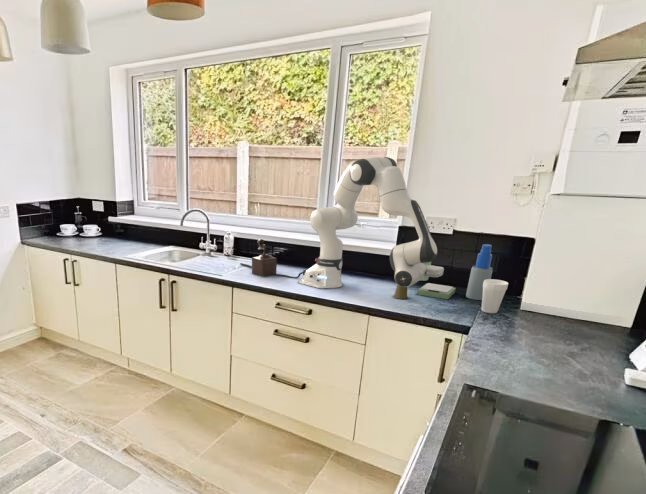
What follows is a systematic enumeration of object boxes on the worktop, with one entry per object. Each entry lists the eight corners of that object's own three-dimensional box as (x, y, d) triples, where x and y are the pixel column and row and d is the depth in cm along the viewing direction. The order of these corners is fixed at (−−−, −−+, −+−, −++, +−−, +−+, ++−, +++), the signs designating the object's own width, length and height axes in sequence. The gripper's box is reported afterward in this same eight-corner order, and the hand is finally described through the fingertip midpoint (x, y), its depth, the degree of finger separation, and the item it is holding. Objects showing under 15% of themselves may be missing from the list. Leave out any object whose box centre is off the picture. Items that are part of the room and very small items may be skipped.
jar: (412, 279, 212) (416, 255, 208) (416, 276, 217) (420, 253, 212) (425, 281, 209) (430, 257, 205) (429, 278, 214) (433, 255, 209)
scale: (417, 294, 223) (418, 288, 222) (425, 288, 234) (426, 282, 232) (447, 299, 216) (448, 293, 214) (454, 292, 226) (456, 286, 225)
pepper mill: (277, 274, 259) (279, 242, 252) (262, 277, 253) (263, 244, 246) (260, 269, 270) (261, 238, 263) (245, 271, 264) (246, 240, 257)
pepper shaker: (405, 295, 221) (409, 273, 217) (408, 299, 215) (412, 276, 211) (392, 294, 221) (396, 272, 217) (395, 298, 216) (398, 275, 212)
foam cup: (499, 308, 203) (506, 280, 198) (503, 315, 195) (510, 285, 190) (476, 306, 206) (482, 278, 200) (478, 312, 198) (485, 283, 192)
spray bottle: (469, 293, 225) (480, 242, 215) (488, 297, 219) (500, 244, 209) (463, 297, 219) (473, 244, 209) (482, 301, 213) (494, 247, 203)
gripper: (440, 268, 194) (448, 262, 204) (393, 261, 205) (403, 256, 215) (437, 282, 197) (446, 276, 207) (391, 275, 208) (401, 269, 218)
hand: (423, 265), depth 211 cm, fingers closed on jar, 6 cm apart
